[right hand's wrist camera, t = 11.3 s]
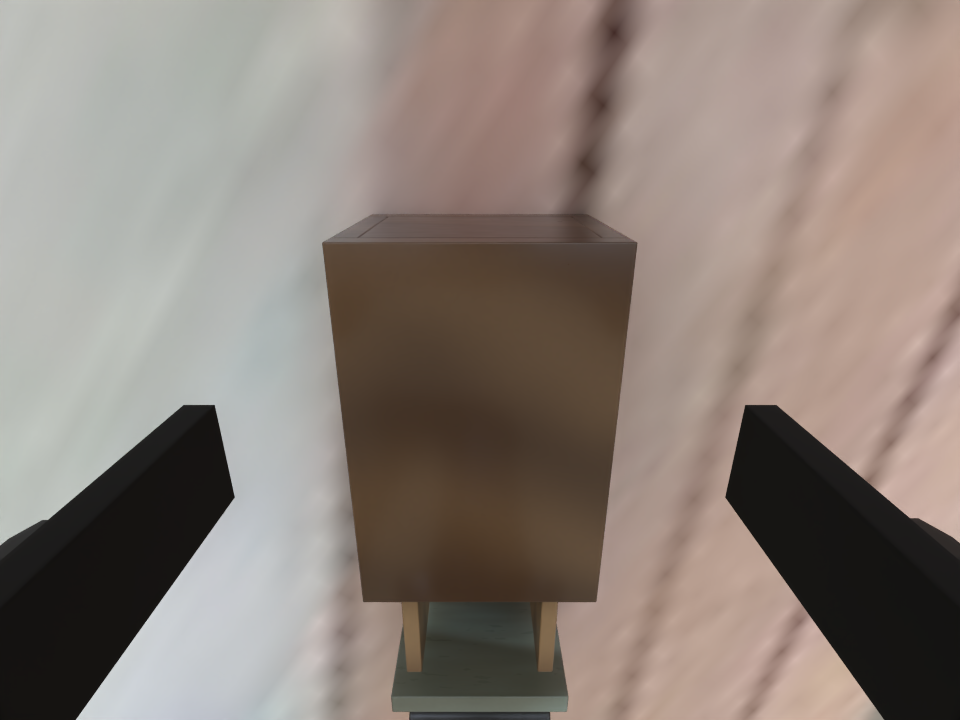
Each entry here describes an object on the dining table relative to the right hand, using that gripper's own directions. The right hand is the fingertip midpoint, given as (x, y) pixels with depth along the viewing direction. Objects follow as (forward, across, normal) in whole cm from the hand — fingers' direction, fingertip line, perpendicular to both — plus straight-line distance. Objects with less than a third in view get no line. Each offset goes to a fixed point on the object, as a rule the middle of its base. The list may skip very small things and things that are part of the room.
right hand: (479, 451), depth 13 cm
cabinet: (+14, 0, -4) cm, 15 cm away
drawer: (+14, 0, -16) cm, 21 cm away
